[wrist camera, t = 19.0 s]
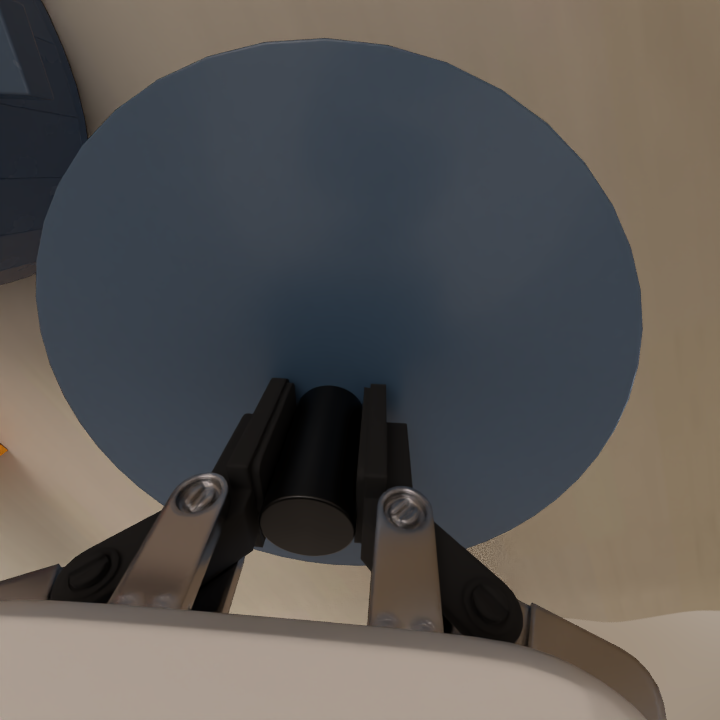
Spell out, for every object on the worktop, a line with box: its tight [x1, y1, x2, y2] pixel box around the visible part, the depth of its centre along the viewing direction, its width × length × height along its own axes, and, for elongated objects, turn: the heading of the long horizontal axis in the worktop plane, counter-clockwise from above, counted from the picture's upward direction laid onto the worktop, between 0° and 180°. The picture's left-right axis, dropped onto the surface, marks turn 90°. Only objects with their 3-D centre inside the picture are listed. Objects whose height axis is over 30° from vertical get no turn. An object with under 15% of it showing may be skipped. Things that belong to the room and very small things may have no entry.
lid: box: [36, 38, 643, 566], centre depth 11 cm, size 20×20×6 cm
